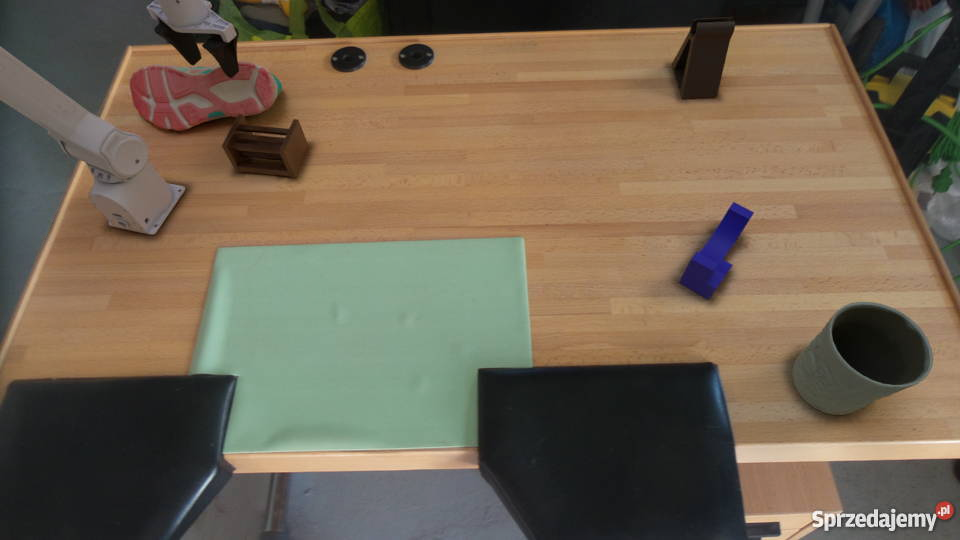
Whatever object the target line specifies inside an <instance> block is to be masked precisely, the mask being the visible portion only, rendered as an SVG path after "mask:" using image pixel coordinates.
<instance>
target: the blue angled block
mask: <svg viewBox="0 0 960 540" xmlns="http://www.w3.org/2000/svg"><path fill="white" fill-rule="evenodd" d="M754 214H755V212H754V211H752V210H750V209H748V208H746V207H745V206H742V205H741V204H739V203H737V202H735V201H733V202H732V203H731V204H730V206H729V207H728V209H727V211H726V212H725V214H724V216H723V217H722V219H721V220H720V222H719V224H718V225H717V227H716V228H715V230H714V231H713V233H712V235H711V236H710V237H709V239H708V241H707V242H706V243H705V245H704V246H703V248H702V249H701V250H700V251H698V250H697V251H696V252H695V253H694V255H693V256H692V257H691V258H690V261H689V262H688V265H687V266H686V268H685V270H684V272H683V274H682V275H681V278H680V279H679V281H678V283H679V284H681V285H682V286H684V287H685V288H687V289H689V290H691V291H692V292H694V293H696V294H698V295H699V296H700V297H702V298H705V299H706V300H708V301H710V299H711V298H712V296H713V295H714V293H715V292H716V290H717V289H718V287H719V286H720V285H721V283H722V282H723V280H724V279H725V278H726V276H727V275H728V273H729V271H730V270H731V268H733V264H732V263H731V262H728V261H726V260H725V258H726V256H727V255H728V254H729V252H730V251H731V249H732V248H733V246H734V245H735V243H736V242H737V241H738V240H739V238H740V236H741V234H742V233H743V232H744V230H745V228H746V227H747V225H748V223H749V221H750V220H751V218H752V217H753V215H754Z"/></svg>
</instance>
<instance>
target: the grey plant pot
mask: <svg viewBox="0 0 960 540" xmlns="http://www.w3.org/2000/svg"><path fill="white" fill-rule="evenodd" d="M933 364H934V354H933V349H932V346H931V343H930V341H929V338H928V337H927V336H926V334H925V332H924V331H923V329H922V328H921V327H920V326H919V325H918V324H917V323H916V322H915V321H914V320H912V318H910V316H908V315H906V313H903V312H902V311H900V310H898V309H896V308H894V307H892V306H889V305H887V304H883V303H880V302H874V301H855V302H850V303H848V304H846V305H843V306H842V307H840V308H839V309H838V310H836V311H835V312H834V314H833V315H831V317H830V318H829V320H828V321H827V322H826V324H825V326H824V327H823V328H822V330H821V331H819V332H818V333H817V334H816V336H814V338H813V339H812V340H811V341H810V342H809V344H808V345H807V346H806V347H805V348H804V349H803V350H802V351H801V352H800V354H798V356H797V357H796V359H795V360H794V363H793V365H792V368H791V369H792V370H791V375H792V376H791V379H792V382H793V385H794V387H795V390H796V392H797V393H798V395H799V396H800V398H802V399H803V400H804V401H805V402H806V403H807V404H808V405H810V407H812V408H814V409H815V410H818V411H820V412H822V413H825V414H828V415H833V416H845V415H849V414H852V413H854V412H857V411H859V410H861V409H864V408H865V407H867V406H868V405H870V404H872V403H874V402H876V401H877V400H880V399H882V398H887V397H891V396H892V395H894V394H896V393H899V392H901V391H903V390H906V389H909V388H911V387H913V386H916V385H919V384H920V383H921V382H923V381H924V380H925V379H926V378H927V377H928V376H929V375H930V373H931V371H932V368H933V366H934V365H933Z"/></svg>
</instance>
